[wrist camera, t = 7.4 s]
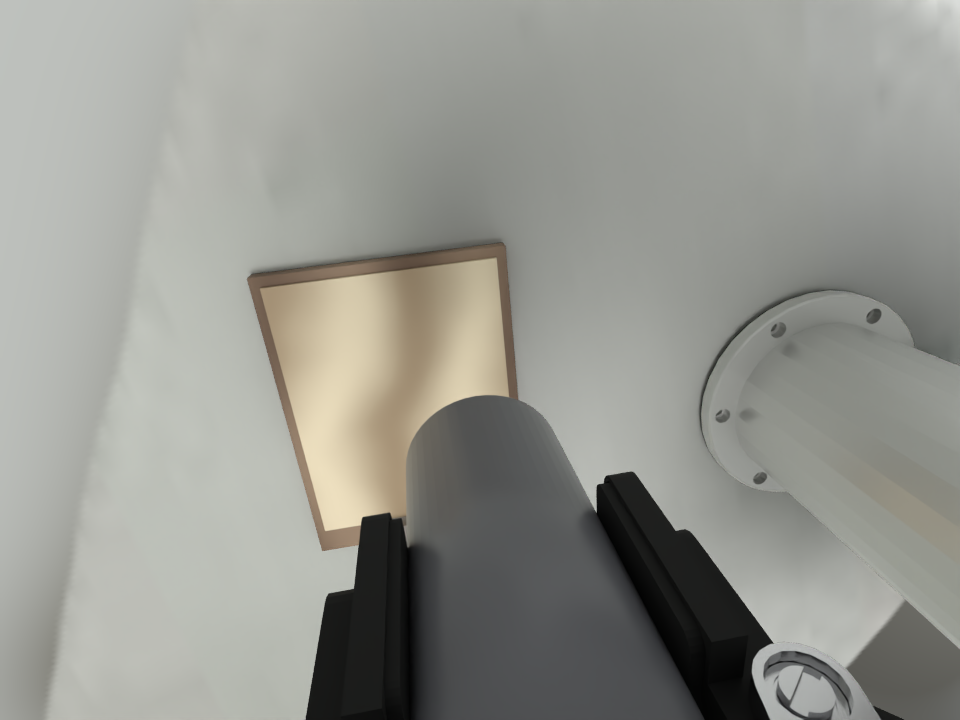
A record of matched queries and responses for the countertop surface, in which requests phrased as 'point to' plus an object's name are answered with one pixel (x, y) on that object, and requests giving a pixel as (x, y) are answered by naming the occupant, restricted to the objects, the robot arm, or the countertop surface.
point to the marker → (521, 582)
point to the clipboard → (380, 367)
